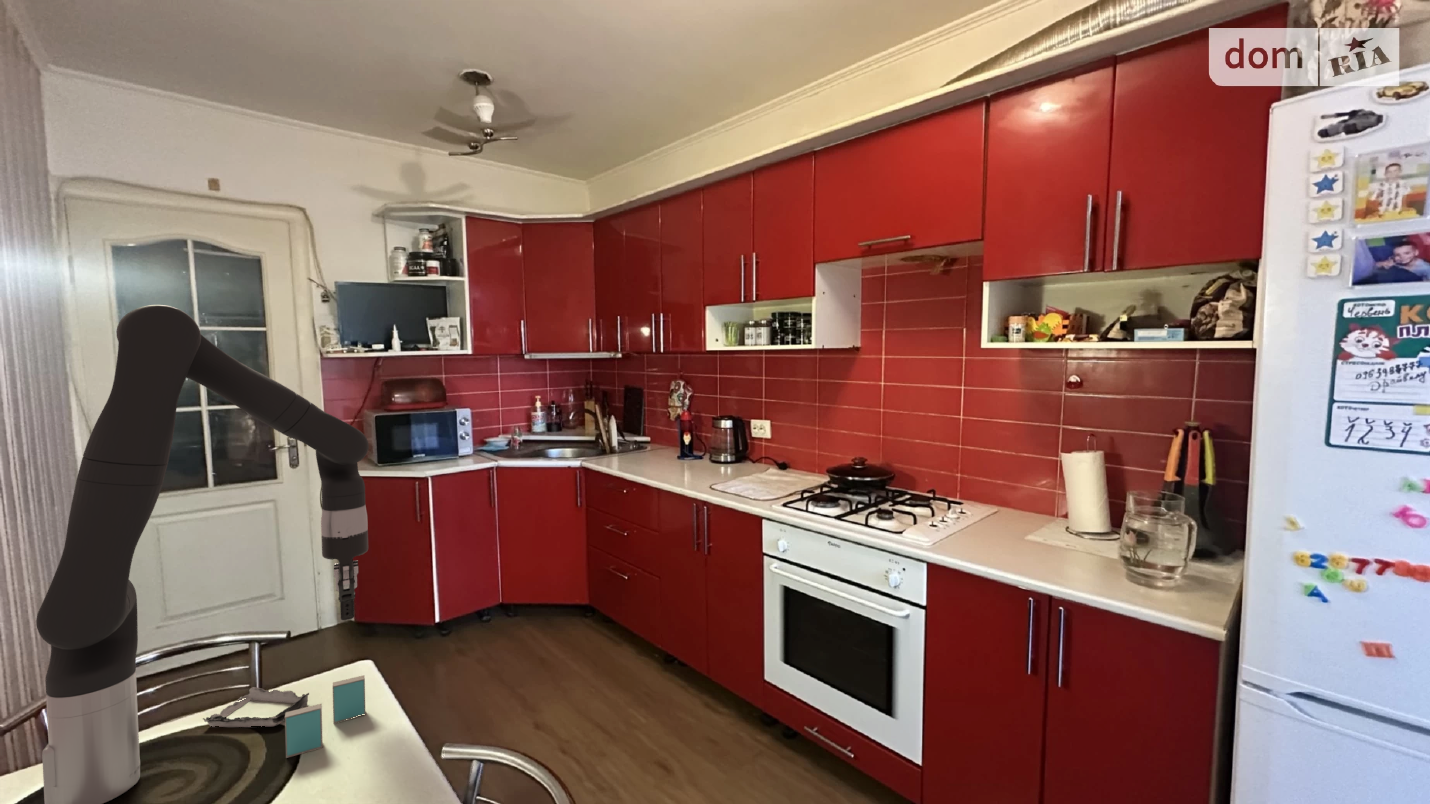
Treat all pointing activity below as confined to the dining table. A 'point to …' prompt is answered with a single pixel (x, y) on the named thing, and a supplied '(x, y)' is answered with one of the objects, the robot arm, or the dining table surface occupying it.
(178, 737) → the dining table surface
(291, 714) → the beige flat slab
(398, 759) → the dining table surface
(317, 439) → the robot arm
